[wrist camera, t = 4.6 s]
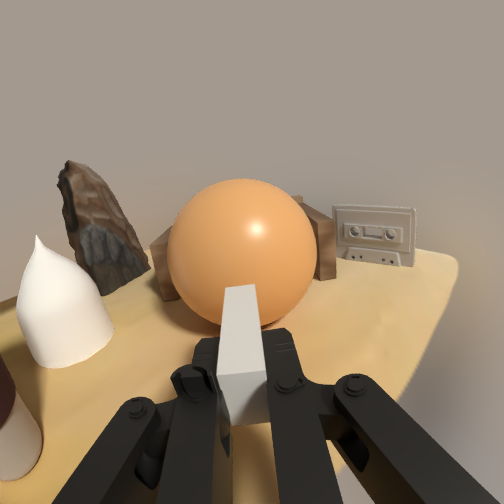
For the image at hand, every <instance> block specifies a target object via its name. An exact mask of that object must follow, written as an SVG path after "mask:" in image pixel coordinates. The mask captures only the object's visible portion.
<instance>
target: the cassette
mask: <svg viewBox="0 0 504 504" xmlns="http://www.w3.org/2000/svg"><path fill="white" fill-rule="evenodd" d="M332 216H333V220H334V223H335V244H336V257H337V258H345V259H346V260H353V261H361V262H369V263H376V264H384V265H392V266H399V267H400V266H407V267H413V265H414V263H415V243H416V242H415V241H416V209H415V208H409V207H392V206H372V205H348V204H335V205H333V206H332ZM354 227H356V228H357V229H358V231H359V233H356V232H355V230H354ZM365 227H371V228H382V236H374V235H365ZM388 230H392V231H393V232H394V234H395V236H390V235H389V233H388Z"/></svg>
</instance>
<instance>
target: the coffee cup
mask: <svg viewBox="0 0 504 504" xmlns="http://www.w3.org/2000/svg"><path fill="white" fill-rule="evenodd" d="M41 447H42V436H41V431H40V428H39V426H38V424H37V422H36V421H35V419H34V418H33V416H32V415H31V413H30V412H29V410H28V409H27V407H26V406H25V404H24V403H23V401H22V399H21V398H20V396H19V394H18V393H17V391H16V388H15V384H14V381H13V379H12V377H11V375H10V373H9V371H8V369H7V367H6V365H5V363H4V361H3V359H2V357H1V355H0V480H1V481H14V480H17V479H19V478H22V477H23V476H25V475H26V474H27V473H28V472H29V471H30V470H31V469H32V468H33V467H34V465H35V464H36V462H37V460H38V458H39V455H40V452H41Z"/></svg>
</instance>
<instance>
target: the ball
mask: <svg viewBox="0 0 504 504" xmlns="http://www.w3.org/2000/svg"><path fill="white" fill-rule="evenodd" d="M316 261H317V246H316V239H315V235H314V232H313V228H312V226H311V223H310V221H309V219H308V217H307V216H306V214H305V212H304V211H303V209H302V208H301V207H300V206H299V204H298V203H297V202H296V201H295V200H294V199H293V198H292V197H290V196H289V195H288V194H287V193H285V192H284V191H282V190H281V189H279V188H277V187H275V186H273V185H271V184H268V183H265V182H263V181H258V180H253V179H230V180H226V181H221V182H218V183H216V184H213V185H211V186H209V187H207V188H205V189H203V190H202V191H200V192H199V193H197V194H196V195H195V196H193V197H192V198H191V199H190V200H189V201H188V202H187V203H186V204H185V206H184V207H183V208H182V209H181V211H180V212H179V214H178V216H177V217H176V219H175V221H174V223H173V226H172V228H171V232H170V235H169V239H168V246H167V262H168V268H169V272H170V275H171V279H172V282H173V284H174V286H175V288H176V290H177V292H178V293H179V295H180V296H181V298H182V299H183V300H184V302H185V303H186V304H187V305H188V306H189V307H190V308H191V309H192V310H193V311H195V312H196V313H197V314H198V315H200V316H201V317H203V318H205V319H207V320H208V321H210V322H212V323H215V324H218V325H221V324H222V315H223V305H224V296H225V288H227V287H235V286H243V285H250V284H255V290H256V297H257V304H258V311H259V319H260V326H263V325H266V324H269V323H271V322H274V321H276V320H278V319H279V318H281V317H282V316H284V315H285V314H287V313H288V312H290V311H291V310H292V309H293V308H294V307H295V306H296V305H297V304H298V303H299V302H300V300H301V299H302V298H303V296H304V295H305V293H306V292H307V290H308V288H309V286H310V284H311V282H312V279H313V276H314V273H315V267H316Z"/></svg>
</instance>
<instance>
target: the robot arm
mask: <svg viewBox="0 0 504 504" xmlns="http://www.w3.org/2000/svg"><path fill="white" fill-rule="evenodd" d="M170 379H171V381H172V383H173V386H174V388H175V390H176V393H177V395H178V397H177V398H175V399H174V400H171V401H168V402H164V403H160V404H154V402H153V401H152V400H151V399H149V398H146V397H135V398H131V399H130V400H128V401H126V402H125V403H124V404H123V405H122V406H121V407H120V408H119V410H118V411H117V412H116V414H115V415H114V417H113V418H112V419H111V421H110V422H109V423H108V425H107V426H106V428H105V429H104V430H103V432H102V433H101V434H100V436H99V437H98V439H97V440H96V441H95V443H94V444H93V446H92V447H91V448H90V450H89V451H88V453H87V454H86V455H85V457H84V458H83V460H82V461H81V462H80V464H79V465H78V467H77V468H76V469H75V471H74V472H73V474H72V475H71V476H70V478H69V479H68V481H67V482H66V484H65V485H64V486H63V488H62V489H61V491H60V492H59V494H58V495H57V496H56V498H55V499H54V501H53V502H52V504H233V501H232V435H231V431H230V421H231V424H232V426H238V425H249V424H259V423H267V422H271V431H272V439H273V448H274V456H275V465H276V473H277V481H278V490H279V498H280V504H343V501H342V497H341V493H340V490H339V486H338V482H337V479H336V475H335V471H334V468H333V464H332V461H331V457H330V454H329V450H328V447H327V443H326V440H331V442H332V443H333V445H334V446H335V448H336V449H337V451H338V452H339V454H340V455H341V456H342V458H343V459H344V461H345V462H346V464H347V465H348V467H349V468H350V469H351V471H352V472H353V473H354V475H355V476H356V478H357V479H358V481H359V482H360V483H361V485H362V486H363V488H364V489H365V490H366V492H367V493H368V494H369V495H370V497H371V499H372V500H373V501H374V503H375V504H500V503H499V502H498V501H497V500H496V499H495V498H494V497H493V496H492V495H491V494H490V493H489V492H488V491H487V490H485V489H484V488H483V487H482V486H481V485H480V484H479V483H478V482H477V481H476V480H475V479H474V478H473V477H472V476H471V475H470V474H469V473H468V472H467V471H466V470H465V469H464V468H463V467H462V466H461V465H460V464H459V463H458V462H457V461H455V460H454V459H453V458H452V457H451V456H450V455H449V454H448V453H447V452H446V451H445V450H444V449H443V448H442V447H441V446H440V445H439V444H438V443H437V442H436V441H435V440H434V439H433V438H432V437H431V436H430V435H429V434H428V433H427V432H426V431H425V430H424V429H423V428H422V427H421V426H420V425H419V424H418V423H416V422H415V421H414V420H413V419H412V418H411V417H410V416H409V415H408V414H407V413H406V412H405V411H404V410H403V409H402V408H401V407H400V406H399V405H398V404H397V403H396V402H395V401H394V400H393V399H392V398H391V397H390V396H389V395H388V394H387V393H386V392H385V391H384V390H383V389H382V388H381V387H380V386H379V385H378V384H377V383H376V382H375V381H374V380H373V379H371V378H370V377H368V376H366V375H363V374H349V375H346V376H343V377H342V378H340V379H339V380H338V381H337V382H336V384H335V385H324V384H317V383H314V382H312V381H310V380H308V379H307V378H306V377H305V376H304V374H303V372H302V368H301V365H300V361H299V358H298V355H297V351H296V348H295V345H294V341H293V338H292V334H291V333H290V332H289V331H288V330H286V329H285V328H279V329H272V330H265V331H261V326H260V319H259V311H258V304H257V297H256V290H255V284H250V285H243V286H235V287H227V288H225V296H224V305H223V315H222V324H221V333H220V337H213V338H202V339H201V340H200V341H199V342H198V344H197V345H196V346H195V350H194V355H193V359H192V364H188V365H184V366H182V367H180V368H178V369H177V370H176V371H174V372H173V374H172V375H171V377H170Z"/></svg>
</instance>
